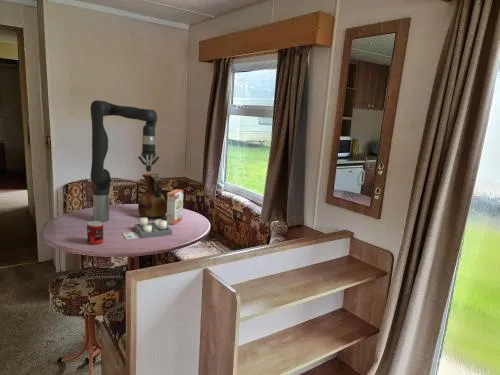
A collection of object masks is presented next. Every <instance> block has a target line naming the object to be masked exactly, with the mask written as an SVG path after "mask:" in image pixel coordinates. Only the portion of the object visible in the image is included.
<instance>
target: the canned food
mask: <svg viewBox="0 0 500 375" xmlns="http://www.w3.org/2000/svg"><path fill="white" fill-rule="evenodd" d="M86 231H87V233H86V234H87V235H86V236H87V237H86V238H87V241H86V242H87V244H88V245H92V246H94V245H95V246H97V245H101V244H103V242H104V223H103V222H101V221H94V220H93V221H92V220H91V221H88V222H87V223H86Z"/></svg>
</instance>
